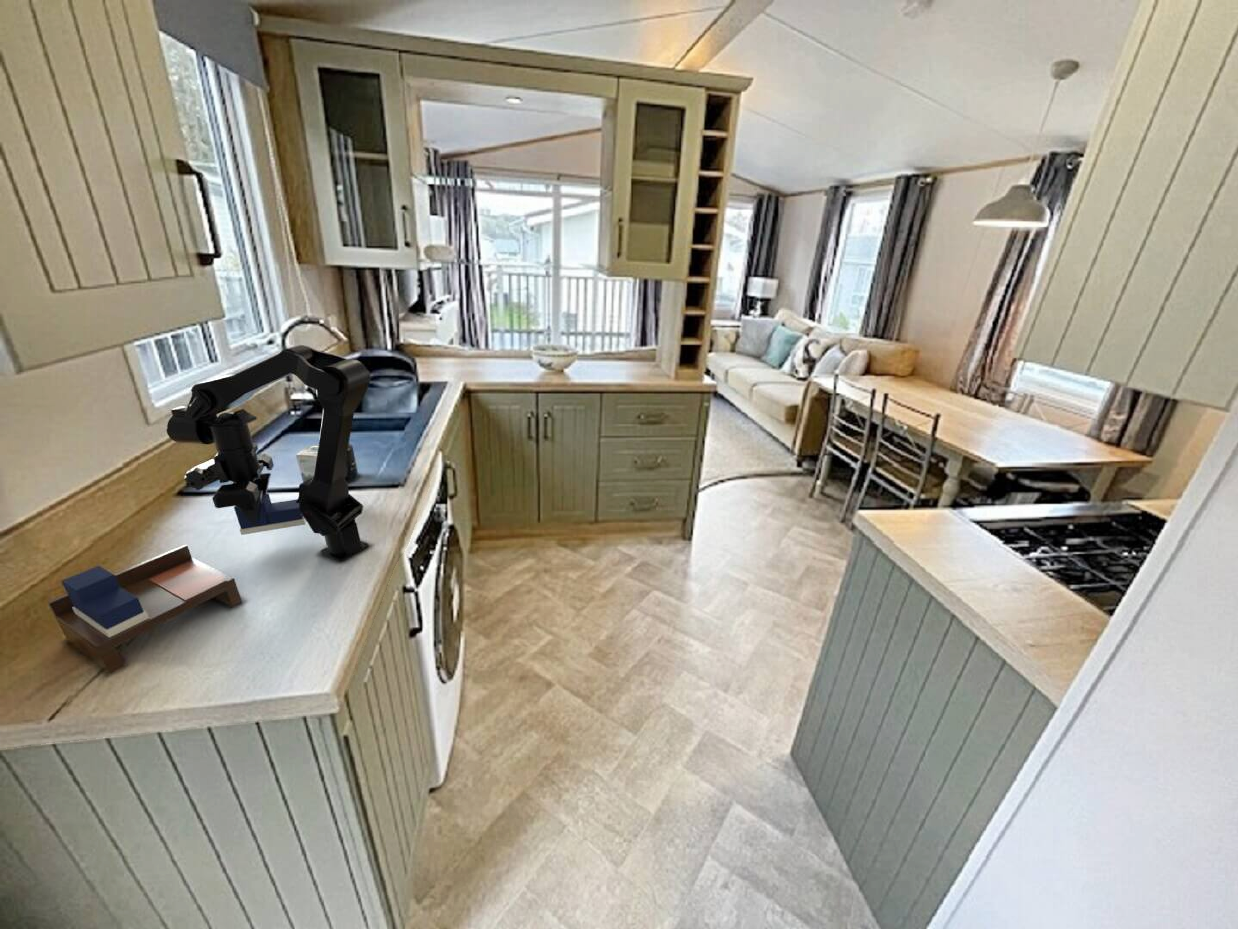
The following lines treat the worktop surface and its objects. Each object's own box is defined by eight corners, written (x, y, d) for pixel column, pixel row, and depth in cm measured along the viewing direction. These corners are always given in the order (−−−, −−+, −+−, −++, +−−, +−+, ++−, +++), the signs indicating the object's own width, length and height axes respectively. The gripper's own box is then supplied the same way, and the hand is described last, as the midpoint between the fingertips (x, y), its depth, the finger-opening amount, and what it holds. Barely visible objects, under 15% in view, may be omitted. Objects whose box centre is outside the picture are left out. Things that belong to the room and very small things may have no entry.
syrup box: (348, 502, 123) (335, 445, 117) (333, 514, 117) (319, 455, 112) (325, 501, 123) (311, 444, 117) (309, 513, 118) (294, 454, 112)
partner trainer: (149, 618, 78) (135, 585, 75) (109, 638, 74) (92, 603, 72) (114, 596, 83) (100, 564, 80) (75, 613, 79) (58, 581, 76)
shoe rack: (242, 602, 89) (229, 566, 86) (110, 673, 74) (89, 632, 72) (198, 579, 95) (185, 544, 92) (67, 640, 80) (46, 601, 77)
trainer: (308, 513, 109) (301, 488, 107) (305, 524, 105) (298, 498, 103) (246, 523, 106) (238, 497, 103) (241, 535, 101) (232, 508, 99)
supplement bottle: (363, 479, 135) (354, 435, 130) (335, 487, 130) (324, 442, 125) (353, 471, 139) (344, 428, 134) (326, 478, 135) (315, 435, 130)
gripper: (198, 434, 102) (221, 504, 109) (163, 470, 87) (193, 550, 93) (263, 427, 106) (283, 495, 113) (242, 460, 91) (266, 537, 97)
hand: (257, 517), depth 104 cm, fingers closed on trainer, 4 cm apart
